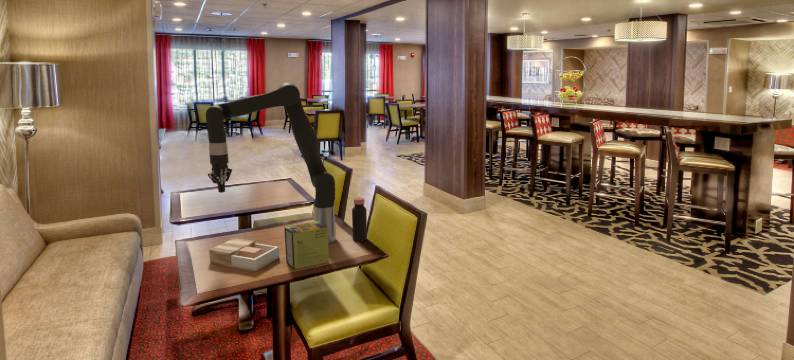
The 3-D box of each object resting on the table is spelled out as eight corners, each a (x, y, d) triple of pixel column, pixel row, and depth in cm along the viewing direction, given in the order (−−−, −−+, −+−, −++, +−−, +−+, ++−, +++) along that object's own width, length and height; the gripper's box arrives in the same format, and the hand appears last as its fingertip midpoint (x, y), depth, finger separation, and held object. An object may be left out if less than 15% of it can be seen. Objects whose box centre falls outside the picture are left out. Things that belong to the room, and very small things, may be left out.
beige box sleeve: (236, 250, 225) (235, 237, 224) (256, 253, 221) (255, 240, 219) (210, 263, 210) (209, 249, 209) (231, 267, 206) (230, 253, 205)
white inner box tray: (256, 254, 221) (255, 243, 219) (279, 257, 216) (278, 246, 215) (231, 267, 206) (230, 255, 205) (255, 271, 202) (254, 259, 201)
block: (245, 246, 213) (261, 248, 211) (246, 257, 214) (262, 259, 212) (238, 250, 209) (254, 252, 206) (239, 261, 210) (255, 264, 207)
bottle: (349, 240, 237) (348, 199, 233) (357, 236, 243) (356, 196, 239) (362, 242, 234) (361, 201, 230) (369, 238, 240) (369, 197, 235)
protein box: (329, 262, 211) (328, 226, 208) (294, 269, 203) (292, 233, 200) (319, 254, 220) (318, 220, 217) (285, 261, 212) (283, 226, 209)
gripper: (214, 155, 207) (217, 196, 211) (236, 150, 219) (239, 189, 223) (200, 154, 210) (204, 195, 214) (222, 149, 222) (225, 188, 226)
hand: (221, 192), depth 218 cm, fingers closed
